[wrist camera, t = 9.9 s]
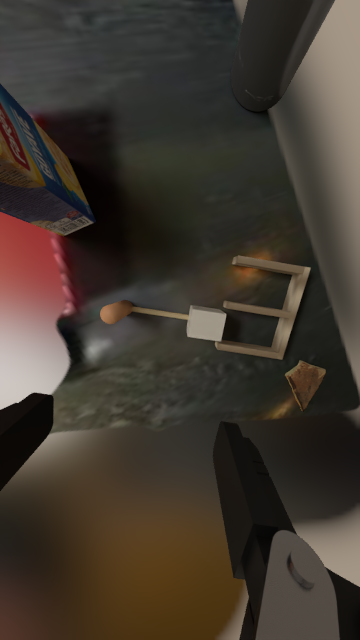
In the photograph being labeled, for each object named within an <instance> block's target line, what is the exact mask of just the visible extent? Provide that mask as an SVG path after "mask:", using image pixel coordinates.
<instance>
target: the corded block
mask: <svg viewBox="0 0 360 640" xmlns="http://www.w3.org/2000/svg"><path fill="white" fill-rule="evenodd" d="M131 312H139V313H146V314H152V315H159V316H166V317H173V318H179V319H186V320H188V324H187V335H188V337H193V338H200V339H207V340H214V341H221V339H222V334H223V329H224V324H225V320H226V315H227V314H226V313H224V312H223V311H221V310H220V309H214V308H207V307H201V306H194V305H191V306H190V312H189V315H187V314H180V313H174V312H167V311H160V310H154V309H147V308H140V307H134V306H133V305H132V303H131V302H129V301H127V300H123V301H120V302H117V303H113V304H110V305H107V306H104V307H103V308H102V310H101V312H100V315H101V318H102V320H103V321H104V322H106V323H108V324H113V323H116V322H117V321H119V320H120V319H122V318H124V317H125V316H127V315H129V314H130V313H131Z"/></svg>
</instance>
